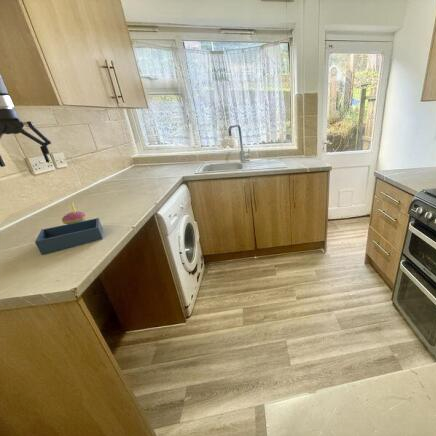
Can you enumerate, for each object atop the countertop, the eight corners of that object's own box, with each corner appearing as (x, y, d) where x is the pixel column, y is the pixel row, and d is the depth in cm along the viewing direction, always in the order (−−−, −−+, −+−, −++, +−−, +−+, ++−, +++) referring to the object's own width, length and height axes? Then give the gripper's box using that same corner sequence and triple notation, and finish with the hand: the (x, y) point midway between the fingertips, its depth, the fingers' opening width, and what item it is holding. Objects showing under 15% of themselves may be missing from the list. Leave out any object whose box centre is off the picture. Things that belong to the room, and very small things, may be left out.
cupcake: (80, 222, 116) (69, 198, 111) (94, 223, 114) (84, 199, 109) (61, 230, 109) (49, 205, 103) (76, 231, 107) (64, 206, 102)
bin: (41, 254, 90) (34, 241, 88) (47, 241, 99) (41, 229, 97) (102, 239, 100) (98, 227, 97) (102, 229, 109) (98, 217, 107)
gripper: (-55, 108, 84) (-22, 169, 92) (43, 107, 97) (64, 161, 106) (-45, 109, 89) (-15, 166, 98) (46, 108, 103) (66, 159, 111)
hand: (26, 164), depth 102 cm, fingers open, 13 cm apart
